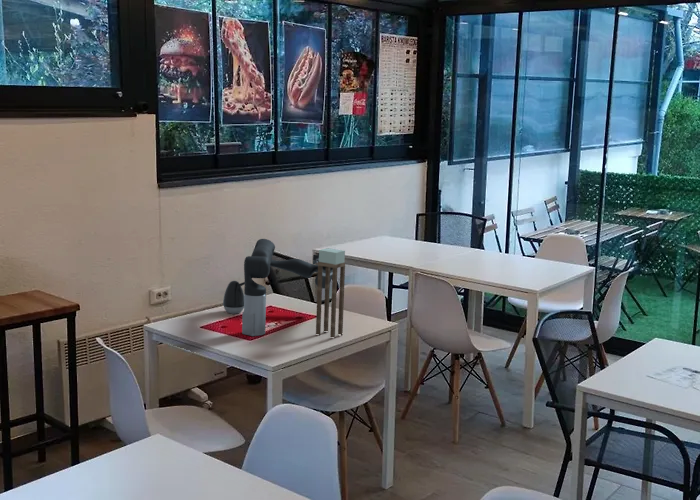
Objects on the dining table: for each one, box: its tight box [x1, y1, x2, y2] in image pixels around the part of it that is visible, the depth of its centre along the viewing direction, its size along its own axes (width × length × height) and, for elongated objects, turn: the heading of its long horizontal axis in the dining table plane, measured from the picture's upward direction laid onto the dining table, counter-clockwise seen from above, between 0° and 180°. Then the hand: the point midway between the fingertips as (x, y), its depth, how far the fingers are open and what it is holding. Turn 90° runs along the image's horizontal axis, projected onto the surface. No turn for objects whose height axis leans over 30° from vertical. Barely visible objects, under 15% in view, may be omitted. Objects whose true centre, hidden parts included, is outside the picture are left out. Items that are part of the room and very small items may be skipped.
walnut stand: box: [315, 262, 346, 338], centre depth 335 cm, size 7×9×32 cm
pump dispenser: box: [222, 280, 245, 315], centre depth 368 cm, size 10×10×15 cm
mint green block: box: [318, 248, 346, 265], centre depth 337 cm, size 15×15×5 cm
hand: (330, 253), depth 341 cm, fingers open, 7 cm apart
